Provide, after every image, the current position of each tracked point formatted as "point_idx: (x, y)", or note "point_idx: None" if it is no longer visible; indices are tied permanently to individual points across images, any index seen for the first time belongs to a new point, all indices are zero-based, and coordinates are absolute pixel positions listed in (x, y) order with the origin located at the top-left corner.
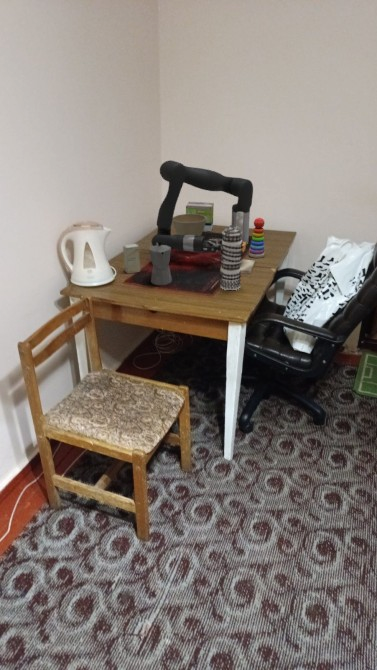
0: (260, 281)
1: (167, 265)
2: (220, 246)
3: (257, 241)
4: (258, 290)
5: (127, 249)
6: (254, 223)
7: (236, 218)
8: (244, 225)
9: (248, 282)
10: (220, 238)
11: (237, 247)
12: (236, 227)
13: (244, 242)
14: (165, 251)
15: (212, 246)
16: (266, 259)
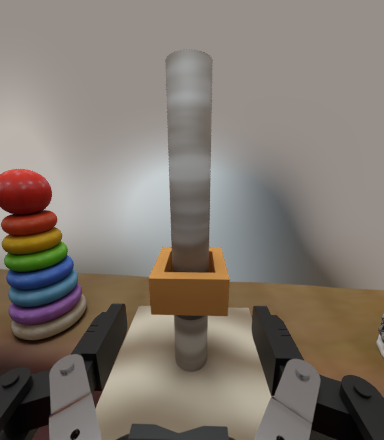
0: (288, 293)
1: None
2: (282, 343)
3: (60, 261)
4: (352, 292)
5: None
6: (21, 194)
7: (198, 100)
8: None
9: (322, 316)
10: (14, 382)
11: None
12: (202, 166)
13: (170, 249)
14: None
15: (375, 428)
16: (103, 293)
